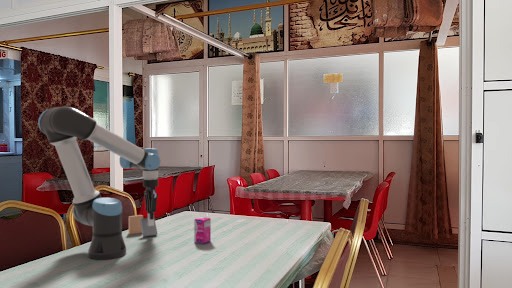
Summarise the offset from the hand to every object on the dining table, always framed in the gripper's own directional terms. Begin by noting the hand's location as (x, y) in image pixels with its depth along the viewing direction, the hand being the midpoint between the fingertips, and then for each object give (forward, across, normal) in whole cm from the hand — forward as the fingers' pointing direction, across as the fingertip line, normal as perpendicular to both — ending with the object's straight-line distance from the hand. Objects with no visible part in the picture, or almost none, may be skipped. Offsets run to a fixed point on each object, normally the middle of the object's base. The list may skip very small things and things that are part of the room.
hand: (150, 225), depth 199 cm
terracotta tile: (+6, +12, +3) cm, 14 cm away
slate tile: (+5, 0, 0) cm, 5 cm away
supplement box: (+6, -25, -15) cm, 30 cm away
